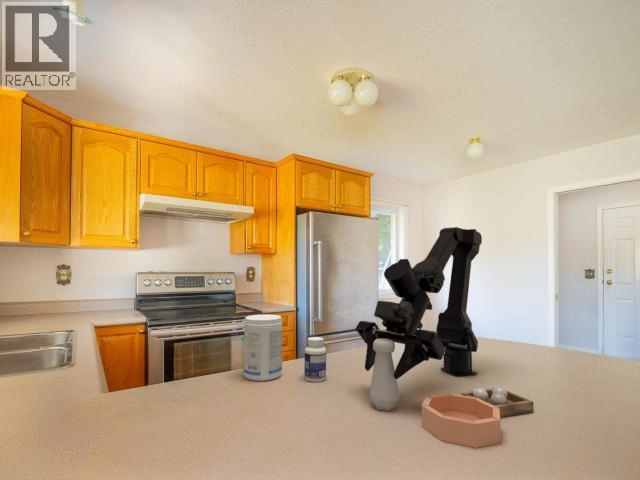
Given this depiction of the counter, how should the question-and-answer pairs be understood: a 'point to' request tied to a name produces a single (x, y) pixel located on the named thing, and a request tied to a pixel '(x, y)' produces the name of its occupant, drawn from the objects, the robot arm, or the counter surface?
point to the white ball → (500, 391)
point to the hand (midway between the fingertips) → (380, 373)
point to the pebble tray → (509, 404)
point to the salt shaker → (384, 376)
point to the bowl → (461, 420)
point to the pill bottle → (315, 360)
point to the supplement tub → (262, 347)
